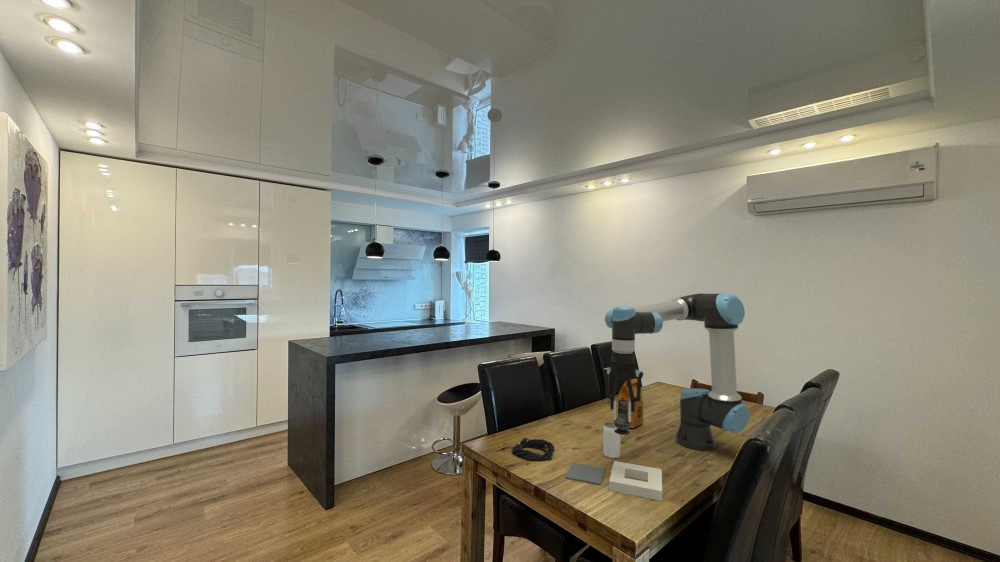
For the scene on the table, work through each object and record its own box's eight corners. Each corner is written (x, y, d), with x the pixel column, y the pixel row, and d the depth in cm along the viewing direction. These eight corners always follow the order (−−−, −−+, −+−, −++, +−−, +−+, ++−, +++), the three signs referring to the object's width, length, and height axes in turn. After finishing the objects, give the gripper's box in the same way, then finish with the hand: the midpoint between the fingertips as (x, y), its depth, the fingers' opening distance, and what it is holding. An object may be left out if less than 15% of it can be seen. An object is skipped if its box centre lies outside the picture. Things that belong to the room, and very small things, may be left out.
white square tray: (661, 477, 135) (661, 469, 135) (662, 500, 120) (662, 491, 120) (613, 469, 141) (614, 460, 141) (609, 490, 126) (609, 481, 126)
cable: (561, 456, 152) (561, 445, 152) (537, 467, 142) (538, 455, 143) (529, 443, 165) (529, 432, 165) (505, 452, 155) (505, 441, 155)
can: (617, 460, 148) (617, 428, 149) (601, 456, 152) (601, 425, 152) (622, 454, 154) (622, 424, 154) (605, 450, 157) (606, 420, 158)
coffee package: (646, 425, 188) (647, 379, 188) (633, 431, 179) (633, 383, 180) (628, 419, 195) (628, 376, 196) (614, 425, 187) (614, 379, 187)
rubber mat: (604, 470, 140) (604, 468, 140) (600, 485, 129) (600, 483, 129) (571, 464, 145) (571, 462, 145) (565, 478, 134) (565, 476, 134)
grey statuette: (610, 429, 135) (611, 394, 135) (626, 428, 136) (627, 394, 136) (617, 435, 129) (617, 399, 130) (634, 435, 130) (634, 399, 130)
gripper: (649, 351, 134) (649, 420, 133) (598, 348, 140) (598, 413, 139) (649, 355, 127) (649, 427, 126) (596, 351, 133) (595, 419, 132)
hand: (622, 419), depth 133 cm, fingers closed on grey statuette, 4 cm apart
